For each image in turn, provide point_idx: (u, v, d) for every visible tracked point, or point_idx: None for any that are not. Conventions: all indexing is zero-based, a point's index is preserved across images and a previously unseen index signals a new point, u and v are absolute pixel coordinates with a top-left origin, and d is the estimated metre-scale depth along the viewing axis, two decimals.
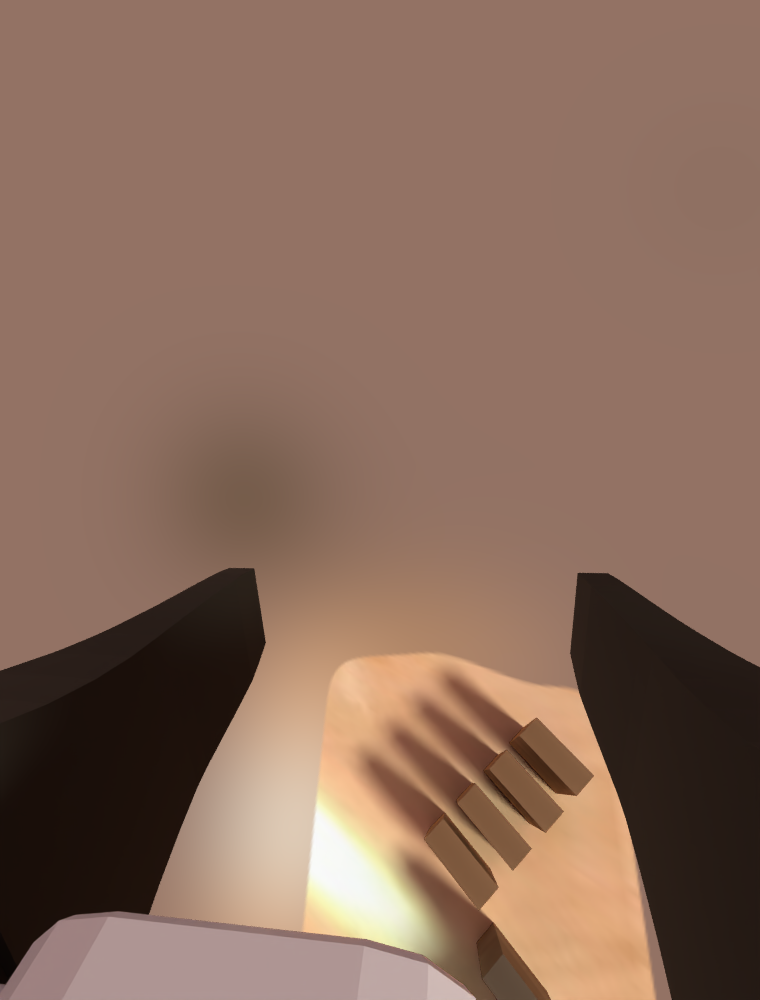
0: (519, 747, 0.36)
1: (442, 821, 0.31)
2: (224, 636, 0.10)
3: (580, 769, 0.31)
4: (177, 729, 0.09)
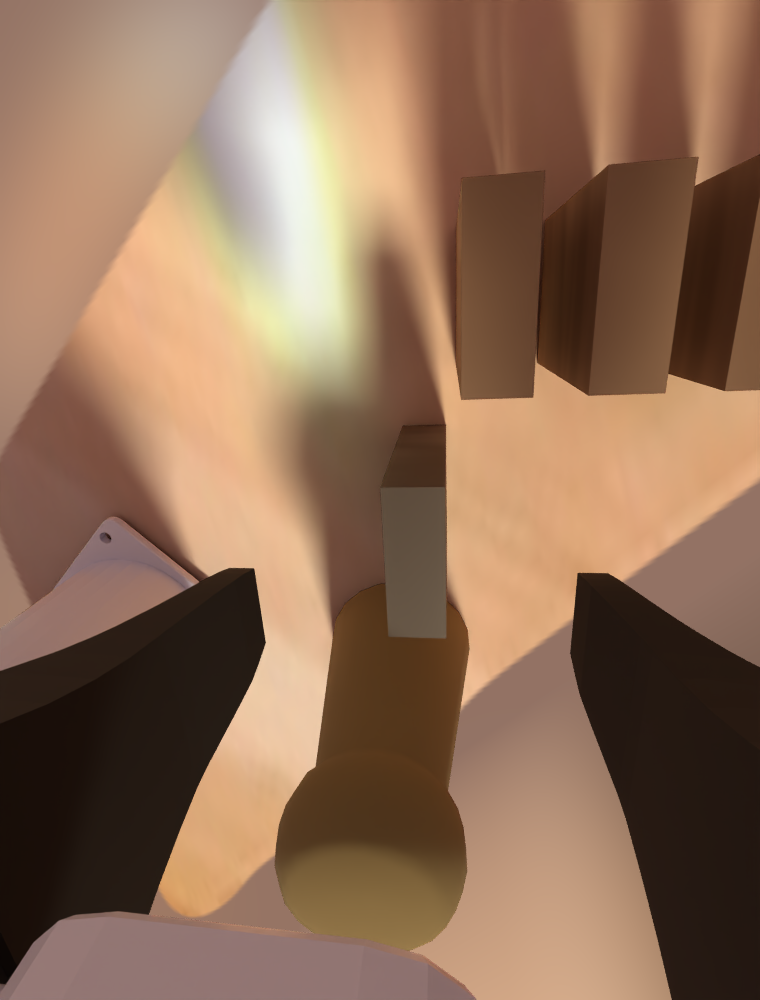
0: None
1: (537, 175, 0.10)
2: (224, 636, 0.10)
3: None
4: (177, 729, 0.09)
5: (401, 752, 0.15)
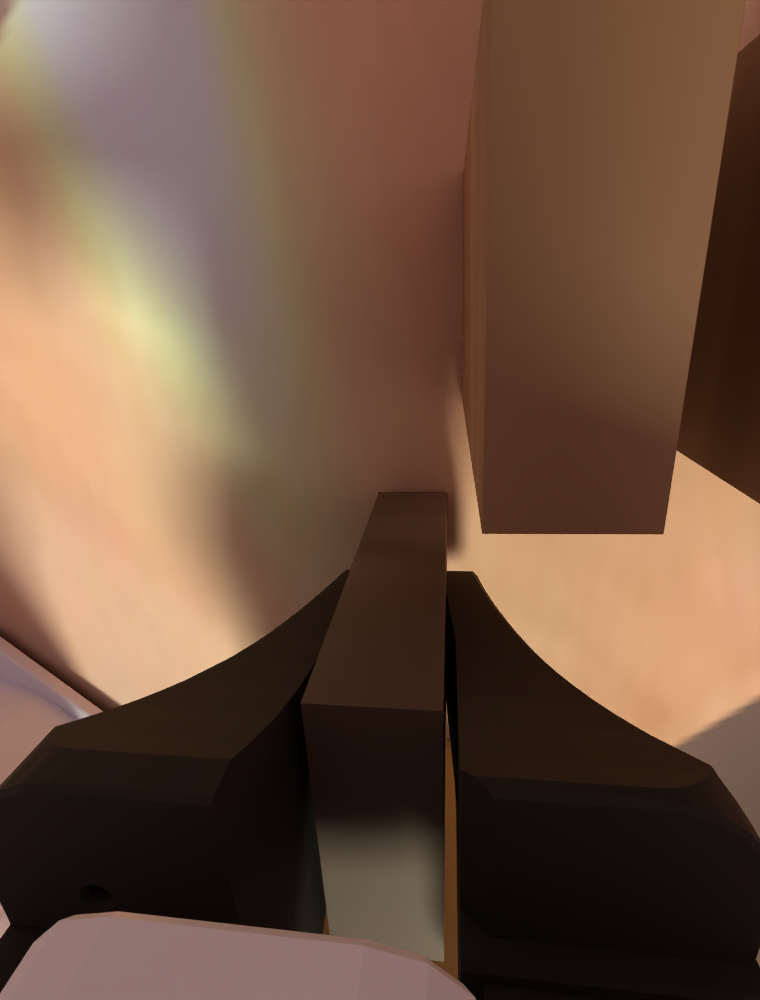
0: None
1: None
2: None
3: None
4: None
5: None
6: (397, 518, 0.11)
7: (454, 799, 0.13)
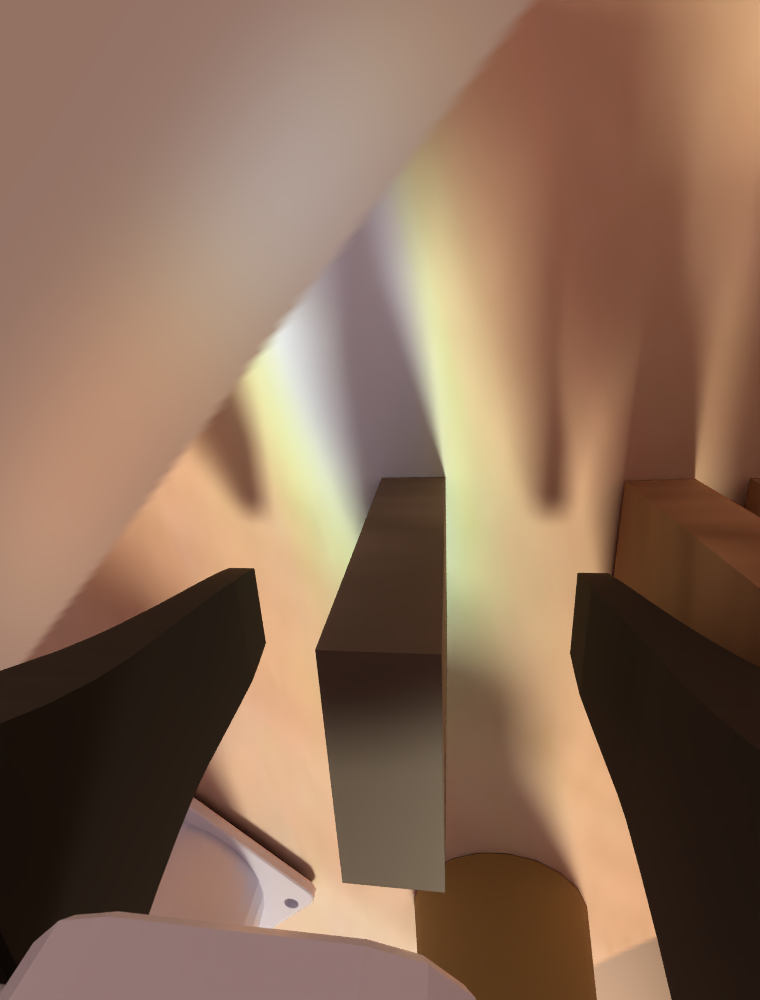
0: None
1: None
2: (224, 636, 0.10)
3: None
4: (177, 729, 0.09)
5: None
6: (399, 500, 0.11)
7: (578, 938, 0.16)
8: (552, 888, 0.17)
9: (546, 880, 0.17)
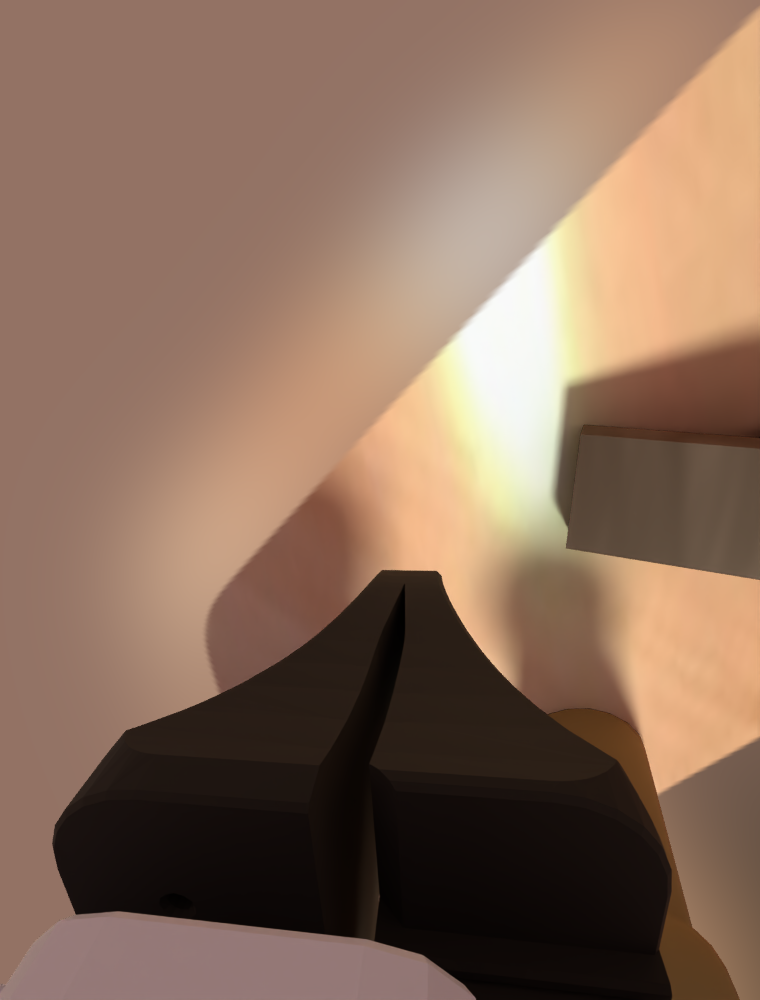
0: None
1: None
2: (399, 642, 0.10)
3: None
4: None
5: None
6: (631, 434, 0.18)
7: (643, 760, 0.22)
8: (623, 730, 0.23)
9: (618, 725, 0.23)
